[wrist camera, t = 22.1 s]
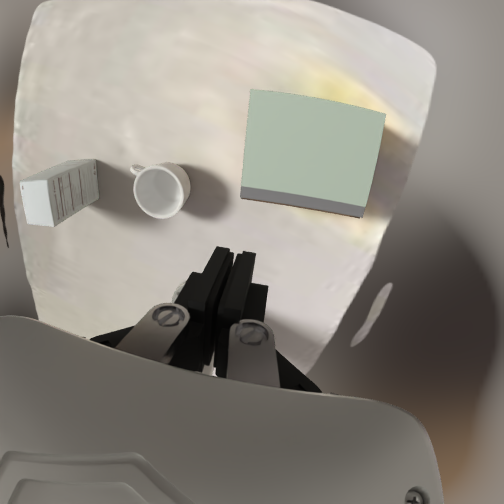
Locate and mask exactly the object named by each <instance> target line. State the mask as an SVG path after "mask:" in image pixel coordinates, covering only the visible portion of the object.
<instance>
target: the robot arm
mask: <svg viewBox="0 0 504 504" xmlns="http://www.w3.org/2000/svg"><path fill="white" fill-rule="evenodd" d="M255 257H256V253H252V252H246V251H243V253H242V254H237V256H236V259H235V262H234V264H233V259H234V253H233V252H230V249H229V248H224V247H218V246H217V247H216V249H215V250H214V252H213V254H212V256H211V258H210V260H209V261H208V263H207V265H206V267H205V269H204V271H203V273H197V272H192V273H191V275H190V276H189V278H188V280H187V281H186V282H184V283H182V284H181V285H180V286H179V287H178V288H177V289H176V291H175V293H174V295H173V298H172V303H163V304H159V305H156V306H154V307H153V308H152V309H150V310H149V311H148V313H147V314H146V315H145V316H144V317H143V318H142V319H141V320H140V321H139V322H138V323H137V324H136V325H135V326H132V327H128V328H125V329H121V330H118V331H114V332H110V333H107V334H103V335H99V336H96V337H93V338H91V339H90V340H88V339H86V337H80V336H78V335H75V334H73V333H70V332H68V331H65V330H63V329H60V328H57V327H55V326H52V325H49V324H47V323H44V322H42V321H38V320H35V319H32V318H27V317H21V316H1V317H0V504H444V499H443V491H442V484H441V478H440V474H439V469H438V465H437V460H436V457H435V453H434V450H433V446H432V444H431V441H430V438H429V436H428V433H427V431H426V430H425V428H424V426H423V425H422V423H421V422H420V421H419V419H418V418H416V417H415V416H414V415H413V414H411V413H410V412H408V411H406V410H404V409H402V408H399V407H397V406H394V405H391V404H388V403H385V402H380V401H376V400H372V399H366V398H360V397H352V396H342V395H338V394H334V393H330V394H323V393H322V391H321V390H320V389H319V388H318V387H317V386H316V385H315V384H314V383H313V382H312V381H310V379H308V378H307V377H306V376H305V375H304V374H303V373H302V372H300V371H299V370H298V369H297V368H296V367H295V366H294V365H292V364H291V363H290V362H289V361H288V360H287V359H286V358H285V357H284V356H282V355H281V354H280V353H279V352H278V351H277V350H276V349H275V341H274V334H273V332H272V330H271V328H270V327H269V326H268V325H266V324H265V323H263V322H264V315H265V308H266V301H267V293H268V286H267V285H261V284H255V283H251V282H252V275H253V269H254V263H255ZM214 367H215V368H216V373H215V374H216V375H217V377H216V376H212V374H213V370H214Z"/></svg>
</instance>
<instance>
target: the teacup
mask: <svg viewBox="0 0 504 504" xmlns="http://www.w3.org/2000/svg"><path fill="white" fill-rule="evenodd" d="M134 168H137V169H140V170H141V171H137V170H135V169H134ZM130 170H131V172H132V173H133V174H134V175H136V176H137V177H136V179H135V182H134V196H135V199H136V201H137V203H138V205H139V206H140V208H141V209H142V210H143V211H144V212H145V213H147V214H148V215H150V216H152V217H154V218H158V219H166V218H170V217H172V216H174V215H176V214H177V213H178V212H179V210H180V209H181V208H182V206H183V205H184V203H185V202H186V200H187V199H188V197H189V195H190V189H191V186H190V180H189V177H188V175H187V173H186V172H185V171H184V170H183V169H182V168H181V167H180V166H178V165H176V164H174V163H170V162H165V163H161V164H156V165H152V166H149V167H147V168H145V167H142V166H140V165H132V166H131V169H130Z"/></svg>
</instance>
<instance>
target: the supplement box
mask: <svg viewBox="0 0 504 504" xmlns="http://www.w3.org/2000/svg"><path fill="white" fill-rule="evenodd" d="M20 188H21V194H22V200H23V205H24V210H25V215H26V219H27V223H28V224H31V225H41V226H50V227H55V226H57V225H58V224H60V223H61V222H63V221H64V220H66V219H67V218H69V217H70V216H72V215H73V214H75V213H77V212H78V211H80V210H81V209H83V208H85V207H86V206H88V205H89V204H91V203H93V202H94V201H96V200H98V199H99V189H98V179H97V167H96V159H86V160H73V161H66V162H64V163H61V164H59V165H56V166H54V167H51V168H49V169H46V170H44V171H41V172H39V173H37V174H35V175H32V176H30V177H28V178H26V179H23V180H21V181H20Z"/></svg>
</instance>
